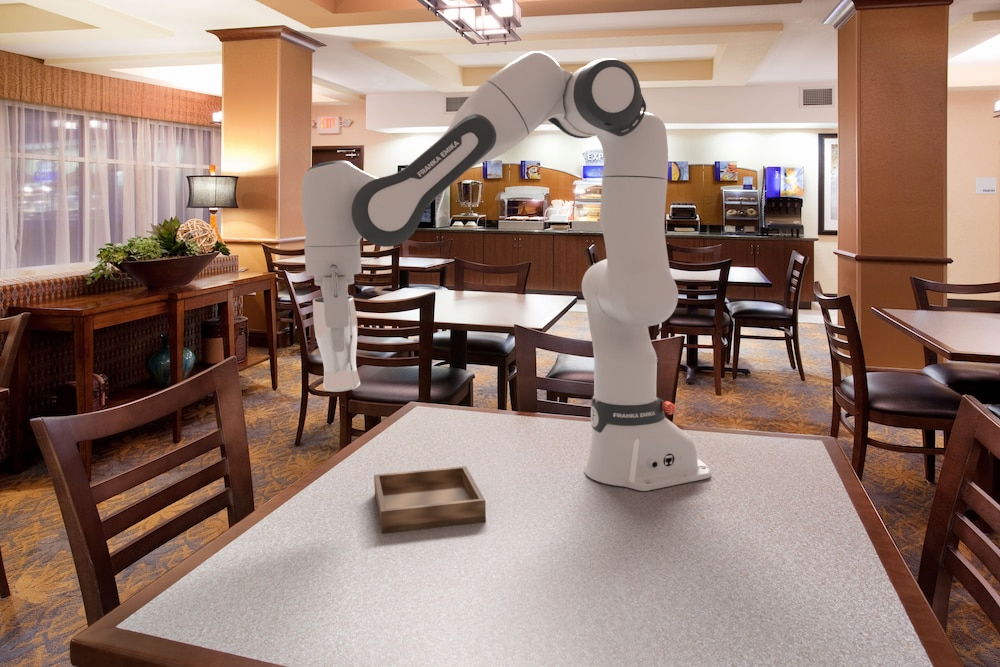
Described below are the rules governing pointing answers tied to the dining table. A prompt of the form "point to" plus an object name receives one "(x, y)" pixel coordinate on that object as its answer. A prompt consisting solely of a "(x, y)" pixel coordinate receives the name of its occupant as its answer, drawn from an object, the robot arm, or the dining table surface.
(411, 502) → the walnut tray
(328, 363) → the beer glass
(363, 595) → the dining table surface
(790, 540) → the dining table surface
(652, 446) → the robot arm
